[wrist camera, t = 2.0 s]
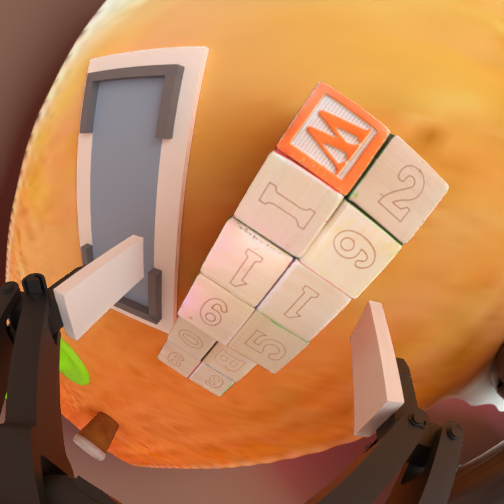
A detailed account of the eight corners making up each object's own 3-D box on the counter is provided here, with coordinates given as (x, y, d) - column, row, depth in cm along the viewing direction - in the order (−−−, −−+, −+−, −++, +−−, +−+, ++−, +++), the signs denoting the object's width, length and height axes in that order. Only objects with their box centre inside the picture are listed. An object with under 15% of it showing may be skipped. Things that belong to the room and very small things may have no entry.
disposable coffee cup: (88, 403, 53) (65, 433, 42) (112, 413, 50) (87, 447, 40) (106, 424, 56) (86, 453, 46) (130, 434, 54) (109, 466, 43)
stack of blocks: (246, 331, 28) (205, 426, 17) (197, 298, 28) (135, 382, 17) (385, 160, 19) (455, 187, 8) (320, 112, 18) (320, 76, 8)
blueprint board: (209, 48, 18) (199, 42, 16) (176, 331, 31) (168, 341, 29) (94, 59, 20) (82, 57, 18) (90, 293, 33) (81, 300, 31)
